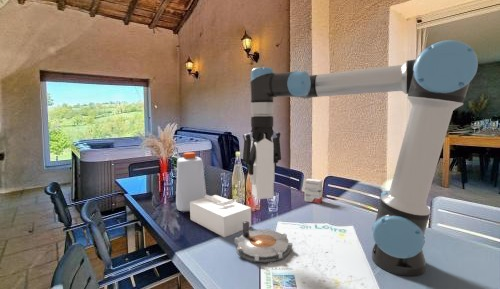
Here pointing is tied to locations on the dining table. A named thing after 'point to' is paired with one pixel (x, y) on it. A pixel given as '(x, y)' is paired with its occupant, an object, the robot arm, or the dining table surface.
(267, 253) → the sprocket
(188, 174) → the plastic bottle
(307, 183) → the ink box
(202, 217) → the tissue box
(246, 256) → the sprocket base
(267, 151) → the milk
